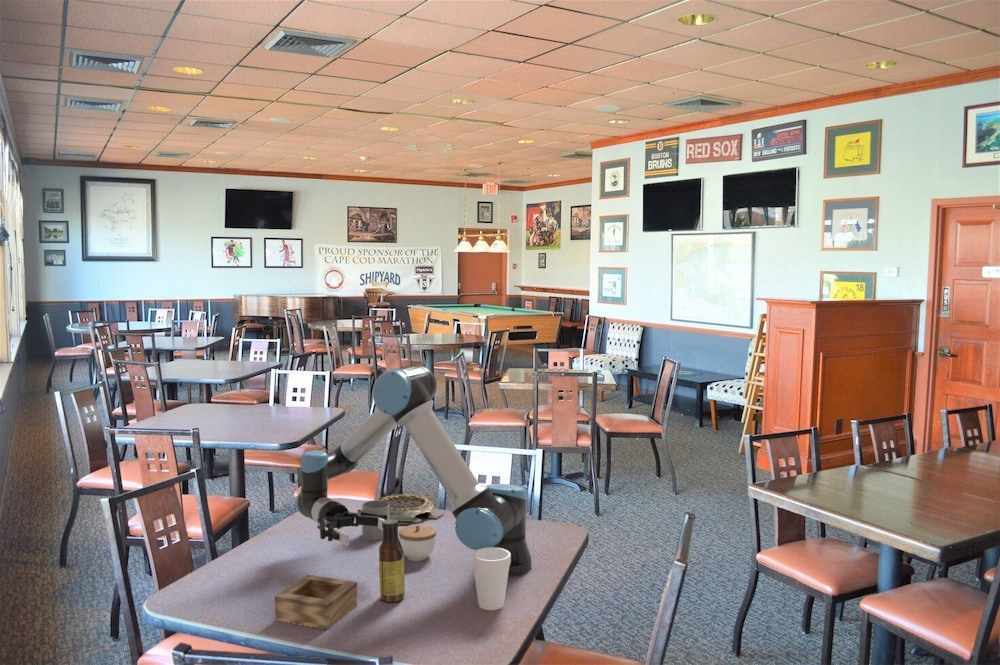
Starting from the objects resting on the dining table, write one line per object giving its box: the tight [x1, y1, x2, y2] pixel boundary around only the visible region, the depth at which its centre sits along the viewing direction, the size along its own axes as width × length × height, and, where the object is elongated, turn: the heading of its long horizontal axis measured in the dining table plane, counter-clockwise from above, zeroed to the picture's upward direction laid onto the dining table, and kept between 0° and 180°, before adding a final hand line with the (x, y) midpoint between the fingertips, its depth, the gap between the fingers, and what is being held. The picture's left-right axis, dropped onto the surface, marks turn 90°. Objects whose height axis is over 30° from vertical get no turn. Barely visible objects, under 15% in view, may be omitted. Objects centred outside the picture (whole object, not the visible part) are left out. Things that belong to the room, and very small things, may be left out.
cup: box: [361, 499, 389, 541], centre depth 243 cm, size 8×8×10 cm
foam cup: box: [472, 547, 511, 611], centre depth 193 cm, size 10×9×13 cm
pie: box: [375, 493, 445, 526], centre depth 267 cm, size 28×27×5 cm
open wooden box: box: [274, 574, 358, 631], centre depth 188 cm, size 14×14×6 cm
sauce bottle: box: [378, 519, 406, 603], centre depth 197 cm, size 7×6×20 cm
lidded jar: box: [398, 524, 437, 562], centre depth 225 cm, size 11×11×9 cm
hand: (370, 534), depth 204 cm, fingers open, 13 cm apart
